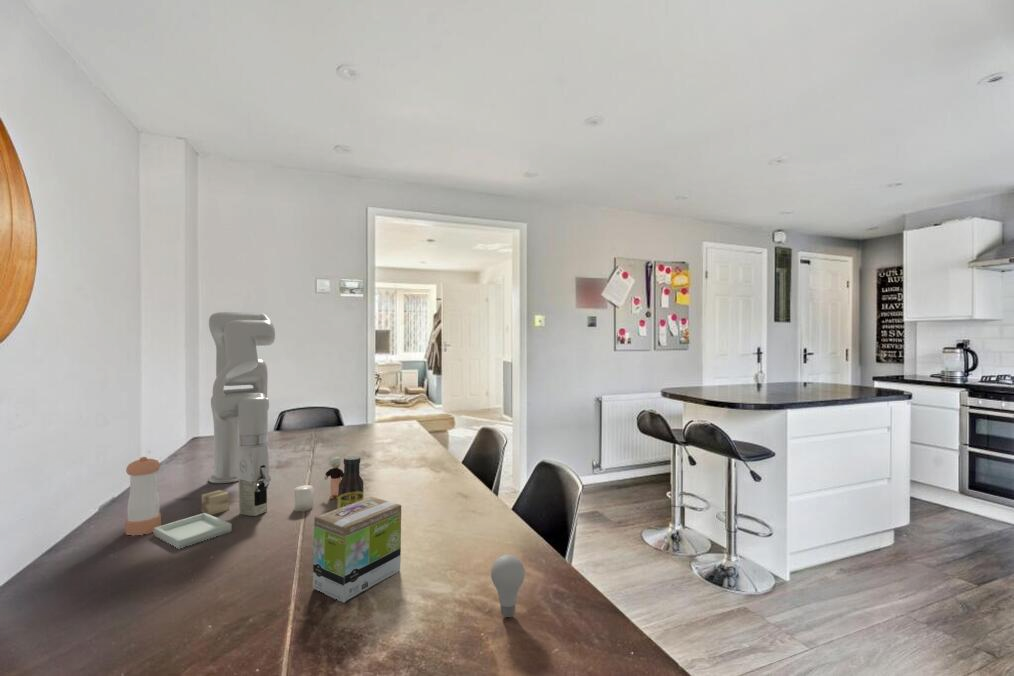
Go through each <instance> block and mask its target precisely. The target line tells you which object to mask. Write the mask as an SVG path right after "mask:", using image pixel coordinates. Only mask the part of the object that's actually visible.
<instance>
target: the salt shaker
mask: <svg viewBox="0 0 1014 676" xmlns="http://www.w3.org/2000/svg"><path fill="white" fill-rule="evenodd" d="M160 468H161V464H160V462H159V460H157V459H153V458H147V456H141V457H139V459H137V460H134V461H132V462H130V463H129V464H128V465H127V467H126V469H125V470H126V474H127V475H128V476H129V477H130V478H129V486H130V487H129V489H130V490H129V495H128V502H127V505H126V507H127V508H126V509H127V510H126V511H127V518H126V519H125V535H126V534H127V535H141V534H146V535H148V534H147V533H149V534H152V533H151V532H153V531H154V528H155V527H158V526H162V514H161V512H160V497H159V493H158V488H157V487H158V486H157V485H158V484H157V483H158V481H157V472H158V471H159V470H160ZM153 533H154V532H153ZM127 535H126V536H127ZM141 536H142V535H141Z"/></svg>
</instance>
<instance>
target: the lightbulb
mask: <svg viewBox="0 0 1014 676" xmlns="http://www.w3.org/2000/svg"><path fill="white" fill-rule="evenodd" d="M525 571H526V570H525V567H524V565H523V562H522V561H521V560H520V559H519V558H518V557H517V556H515V555H513V554H504V555H501V556H499V557H497V558H496V559H495V561H494V562H493V564H492V566H491V569H490V577H491V582H492V583H493V586H494V587H495V589H496V591H497V594H498V602H499V604H500V614H501V616H502V617H504V618H506V617H510V618H512V617H513V616H515V613H516V604H517V601H518V600H517V599H518V594H519V591H520V589H521V587H522V585H523V583H524V581H525V576H526V573H525Z"/></svg>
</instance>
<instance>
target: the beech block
mask: <svg viewBox="0 0 1014 676" xmlns="http://www.w3.org/2000/svg"><path fill="white" fill-rule="evenodd" d="M229 499H230V493H229V492H228V491H224V490H221V489H218V490H214V491H210V492H207V493H203V494H201V512H202V513H207V514H209V515H212V516H213V515H216V514H219V513H222V512H225V511H228V510H230V506H229V505H230V501H229Z"/></svg>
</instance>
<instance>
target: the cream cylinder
mask: <svg viewBox="0 0 1014 676" xmlns="http://www.w3.org/2000/svg"><path fill="white" fill-rule="evenodd" d="M311 508H312V509H313V508H314V486H313V485H309V484H308V485H307V484H306V485H300V486H297V487H295V488H294V511H295V512H298V511H302V512H307V510H308V511H310V510H312V509H311Z"/></svg>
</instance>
